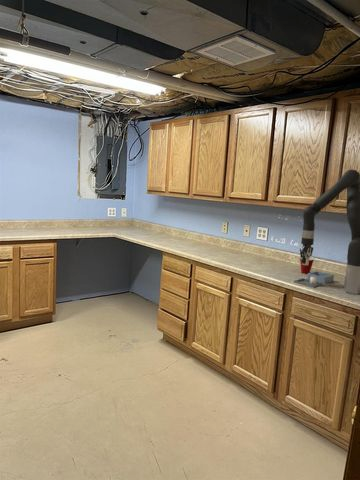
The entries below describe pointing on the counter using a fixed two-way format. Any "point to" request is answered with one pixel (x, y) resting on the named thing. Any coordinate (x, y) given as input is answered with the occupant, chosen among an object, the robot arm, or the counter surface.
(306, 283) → the parts tray
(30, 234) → the counter surface
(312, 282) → the grey stone
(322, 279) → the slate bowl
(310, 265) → the plastic cup
